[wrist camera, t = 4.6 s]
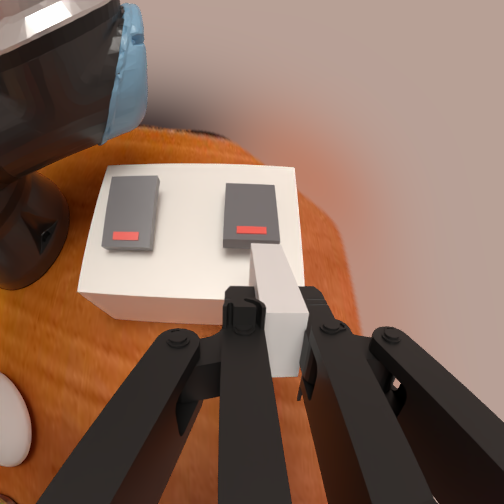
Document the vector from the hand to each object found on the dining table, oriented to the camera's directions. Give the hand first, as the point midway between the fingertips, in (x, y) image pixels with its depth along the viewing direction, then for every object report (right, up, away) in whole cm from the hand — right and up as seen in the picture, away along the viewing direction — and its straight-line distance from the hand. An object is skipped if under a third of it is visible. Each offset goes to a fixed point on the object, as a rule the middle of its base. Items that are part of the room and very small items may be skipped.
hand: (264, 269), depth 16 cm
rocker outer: (-1, +4, +7) cm, 8 cm away
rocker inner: (-10, +4, +6) cm, 12 cm away
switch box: (-6, -1, +16) cm, 17 cm away
